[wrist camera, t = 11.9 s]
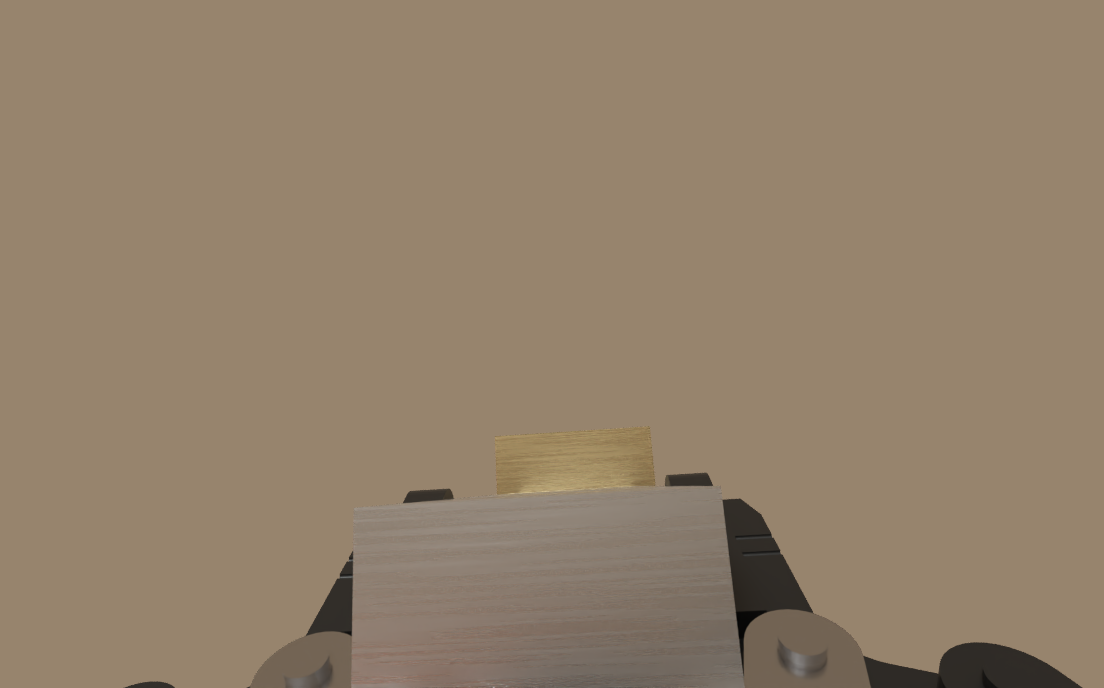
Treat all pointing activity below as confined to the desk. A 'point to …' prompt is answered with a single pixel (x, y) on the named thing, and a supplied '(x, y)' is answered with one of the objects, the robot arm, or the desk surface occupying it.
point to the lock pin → (549, 577)
